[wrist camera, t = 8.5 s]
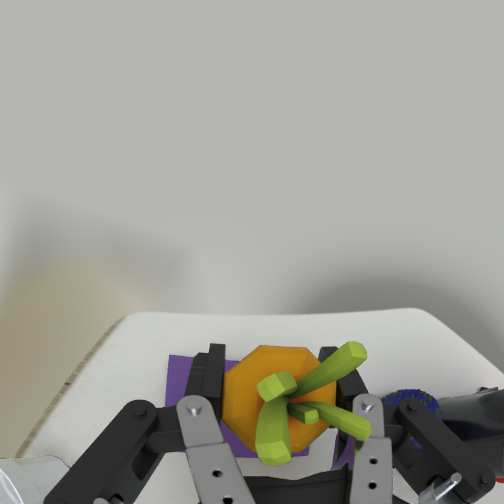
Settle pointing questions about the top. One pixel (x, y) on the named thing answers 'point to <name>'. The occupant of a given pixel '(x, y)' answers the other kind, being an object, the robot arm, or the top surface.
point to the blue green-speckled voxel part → (420, 395)
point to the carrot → (288, 399)
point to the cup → (29, 478)
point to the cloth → (176, 391)
